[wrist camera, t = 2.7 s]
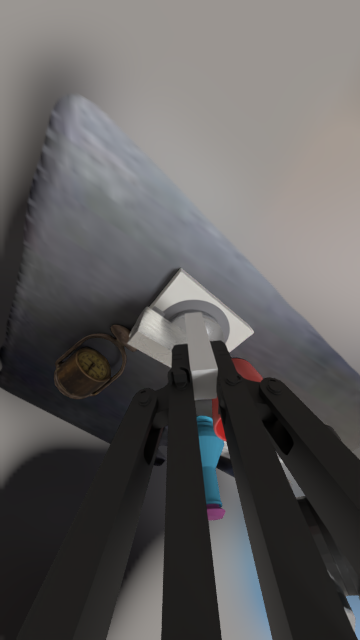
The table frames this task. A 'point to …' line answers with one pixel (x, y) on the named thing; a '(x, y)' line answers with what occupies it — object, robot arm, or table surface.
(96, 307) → the table surface
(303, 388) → the table surface
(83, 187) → the table surface
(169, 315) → the dial housing
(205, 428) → the perfume bottle
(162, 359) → the dial
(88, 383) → the brown piece
